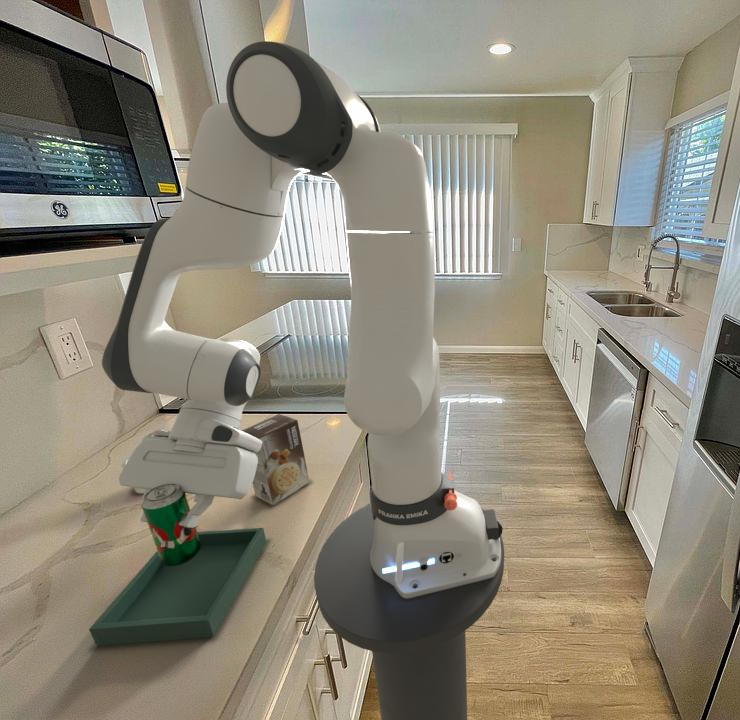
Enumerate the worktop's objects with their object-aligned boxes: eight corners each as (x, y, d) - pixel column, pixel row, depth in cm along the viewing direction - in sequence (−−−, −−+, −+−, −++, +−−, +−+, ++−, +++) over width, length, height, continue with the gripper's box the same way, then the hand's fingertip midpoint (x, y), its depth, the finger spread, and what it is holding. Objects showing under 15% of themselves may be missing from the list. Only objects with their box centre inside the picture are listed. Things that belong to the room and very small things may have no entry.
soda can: (202, 538, 65) (183, 477, 61) (201, 559, 61) (182, 495, 57) (163, 551, 62) (141, 488, 58) (160, 574, 58) (136, 508, 54)
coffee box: (292, 474, 92) (280, 412, 86) (310, 482, 89) (299, 419, 83) (254, 496, 84) (238, 430, 79) (272, 507, 81) (257, 439, 76)
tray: (266, 541, 73) (263, 527, 71) (213, 636, 56) (208, 620, 55) (177, 547, 71) (172, 533, 70) (96, 646, 55) (88, 629, 54)
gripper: (132, 423, 63) (87, 515, 57) (248, 433, 60) (213, 531, 55) (164, 434, 69) (126, 518, 63) (271, 443, 66) (242, 533, 60)
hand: (167, 524), depth 59 cm, fingers closed on soda can, 5 cm apart
